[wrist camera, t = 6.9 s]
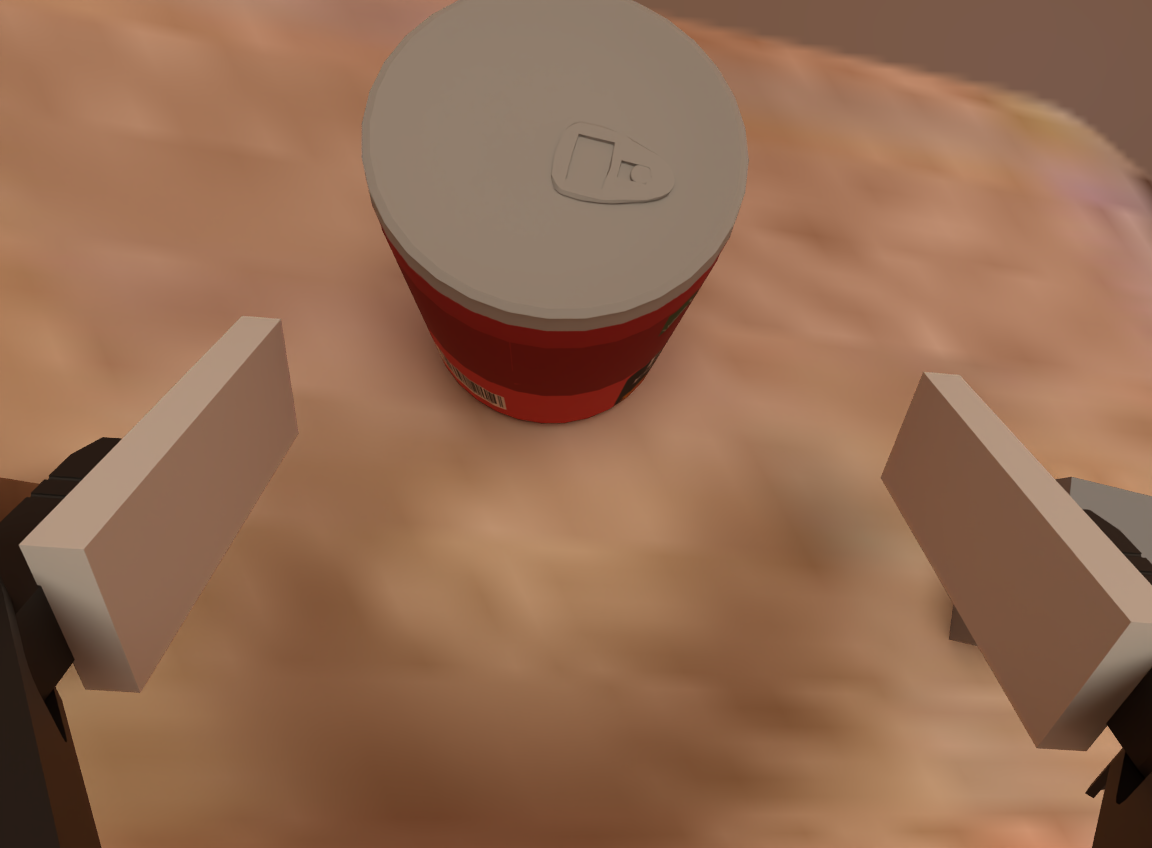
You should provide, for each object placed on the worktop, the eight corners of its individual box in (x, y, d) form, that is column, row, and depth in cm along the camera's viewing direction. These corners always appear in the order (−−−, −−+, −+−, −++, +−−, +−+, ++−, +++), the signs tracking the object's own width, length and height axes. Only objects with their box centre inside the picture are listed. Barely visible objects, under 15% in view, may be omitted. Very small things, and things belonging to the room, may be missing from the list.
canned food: (664, 428, 24) (765, 321, 14) (430, 429, 24) (346, 320, 13) (655, 223, 26) (741, -18, 15) (435, 220, 26) (364, -30, 15)
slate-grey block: (1091, 673, 24) (1235, 702, 19) (947, 638, 24) (1055, 658, 19) (1103, 527, 25) (1243, 518, 20) (965, 494, 25) (1071, 476, 20)
